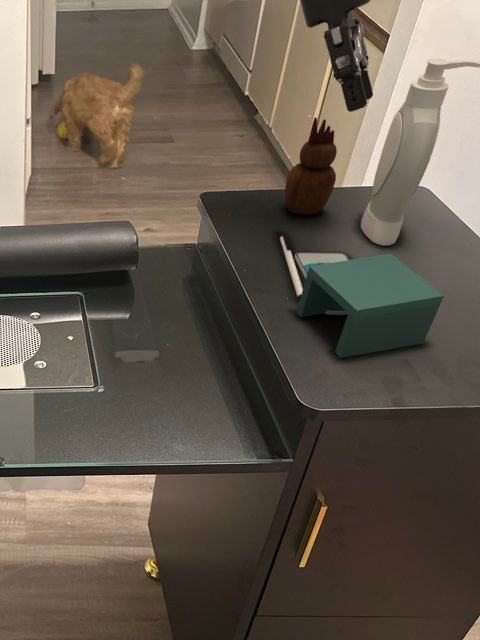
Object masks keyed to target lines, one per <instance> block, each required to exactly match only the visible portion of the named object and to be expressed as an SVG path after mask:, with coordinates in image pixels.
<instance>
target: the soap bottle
mask: <svg viewBox="0 0 480 640" xmlns="http://www.w3.org/2000/svg"><path fill="white" fill-rule="evenodd" d="M426 63H427V65H426V67H425V71H424V73H423V74H420V75H419V76H418V79H414V80H412V81H411V83H410V85H409V88H408V91H407V94H406V98H405V101H404V102H403V104H402V105H401V106H400V108H399V109H398V111H397V112H396V113H395V114H394V116H393V119H392V121H391V123H390V126H389V128H388V132H387V134H386V137H385V139H384V143H383V146H382V150H381V153H380V157H379V161H378V164H377V167H376V171H375V174H374V179H373V184H372V194H371V198H370V201H369V203H368V204H367V206H366V208H365V210H364V213H363V215H362V217H361V220H360V229H361V231H362V232H363V234H364V235H365V236H366V237H367V238H368V239H369V240H370V241H371V243H374V244H376V245H377V246H382V247H385V246H392V245H393V244H395V243H396V241H397V239H398V238H399V236H400V233H401V230H402V226H403V222H404V217H405V215H404V214H405V212H406V209H407V207H408V205H409V203H410V201H411V199H412V197H413V196H414V195H415V193H416V191H417V190H418V187H419V186H420V183H421V182H422V179H423V177H424V175H425V173H426V170H427V168H428V165H429V163H430V161H431V159H432V158H431V157H432V156H433V153H434V149H435V147H436V143H437V140H438V136H439V132H440V127H441V110H442V106H443V103H444V101H445V97H446V95H447V92H448V90H449V84H448V83H447V82H446V77H444V72H445V70H453V69H459V68H464V67H468V68H469V67H471V68H479V69H480V62H477V61H473V60H446V59H442V58H429V59H427V60H426Z"/></svg>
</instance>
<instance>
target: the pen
mask: <svg viewBox="0 0 480 640" xmlns="http://www.w3.org/2000/svg"><path fill="white" fill-rule="evenodd" d="M279 234H280V237H279V240H280V244H281V247H282V250H283V254H284V257H285V260H286V264H287V267H288V270H289V275H290V277H291V280H292V284H293V287H294V291H295V293H296V297H297V299H298V300H299V301H300V298H301V294H302V291H303V285H302V282H301V279H300V276H299V273H298V270H297V267H296V263H295V259H294V257H293V254H292V251H291V247H290V244H289V241H288V238H287V234H285V233H283V232H280V233H279Z"/></svg>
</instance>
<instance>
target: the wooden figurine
mask: <svg viewBox="0 0 480 640" xmlns="http://www.w3.org/2000/svg"><path fill="white" fill-rule="evenodd" d="M326 124H327V120H326V119H325V118H324V119H323V120H322V122H321V124H320V127H319V129H318V118H317V117H314V118H313V121H312V124H311V129H310V132H309V135H308V140H307V141H305V142H304V144H303V145H302V147H301V149H300V151H299V163H297V164H295V165H294V166H292V168H291V169H290V170H289V172H288V174H287V177H286V182H285V188H284V199H285V201H284V202H285V205H286V208H287V209H288V211H290V212H291V213H294V214H298V215H301V216H302V215H303V216H307V215H308V216H310V215H315V214H317V213H319V212H321V210H322V209H323V208H324V207H325V206H326V204H327V203H328V201H329V199H330V197H331V195H332V193H333V190H334V187H335V185H336V181H337V174H336V171H335V169H334V167H333V166H331V165H332V164H333V163H334V161H335V160H336V157H337V152H338V150H337V145H336V144H335V130H334V129H332V130H331V125H327V127H326Z"/></svg>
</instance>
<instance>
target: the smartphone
mask: <svg viewBox="0 0 480 640" xmlns="http://www.w3.org/2000/svg"><path fill="white" fill-rule="evenodd" d="M346 260H350V259H349V258H348V256H347V254H345V253H342V252H309V251H308V252H305V251H304V252H301V251H300V252H296V253H295V254H294V261H296V264H297V266H298V268H299V269H300V272H301V274H302V275H303V278H304V281H305V280H306V277H307V275H308V270H309V267H310V266H315V265H321V264H328V263H334V262H340V261H346ZM348 314H349V313H348V312H347V311H346V310H345V309H344V308H336V309H330V310H326V312H325V313H324V315H331V316H335V315H337V316H338V315H339V316H340V315H341V316H343V315H344V316H346V315H347V316H348Z"/></svg>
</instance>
